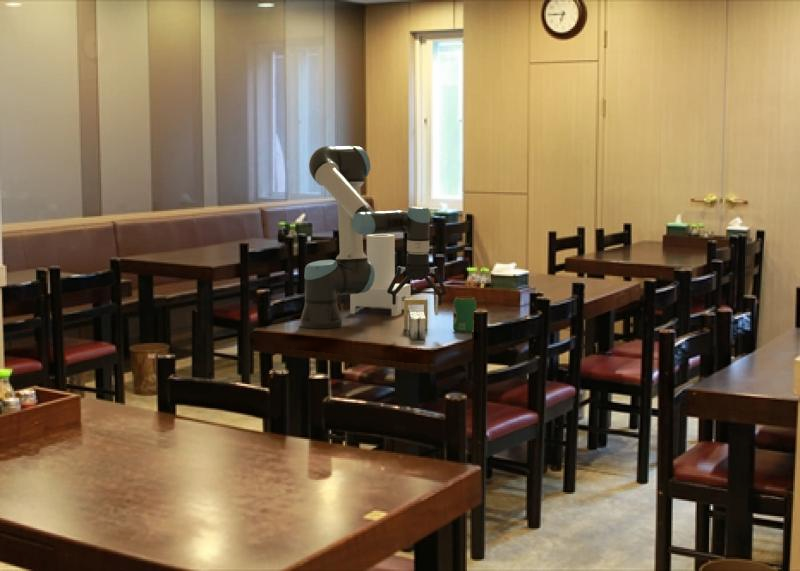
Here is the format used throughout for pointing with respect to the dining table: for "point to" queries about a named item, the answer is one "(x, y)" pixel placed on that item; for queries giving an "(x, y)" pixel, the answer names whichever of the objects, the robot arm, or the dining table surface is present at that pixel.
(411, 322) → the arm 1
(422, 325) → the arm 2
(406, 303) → the tan flat upright block
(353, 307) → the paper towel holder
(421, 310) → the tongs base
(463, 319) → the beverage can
